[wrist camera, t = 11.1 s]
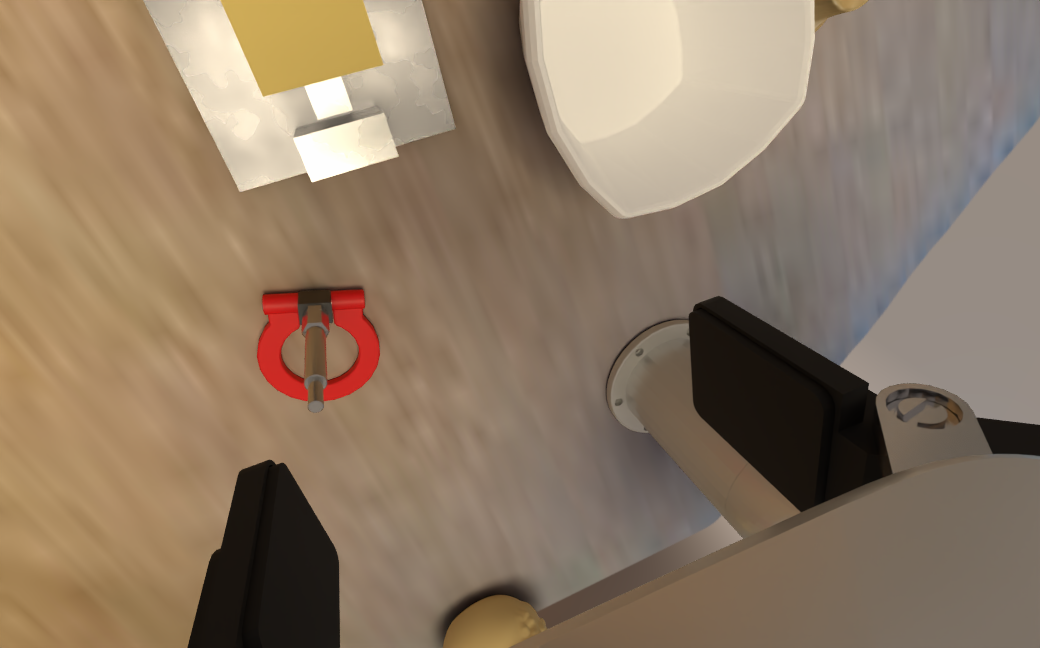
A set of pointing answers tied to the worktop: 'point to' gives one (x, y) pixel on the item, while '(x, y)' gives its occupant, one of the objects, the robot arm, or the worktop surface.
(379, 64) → the notched yellow block
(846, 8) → the hand bell
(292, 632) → the robot arm
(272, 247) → the worktop surface
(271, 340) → the tow hook
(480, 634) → the sculpture
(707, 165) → the bowl
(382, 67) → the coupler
